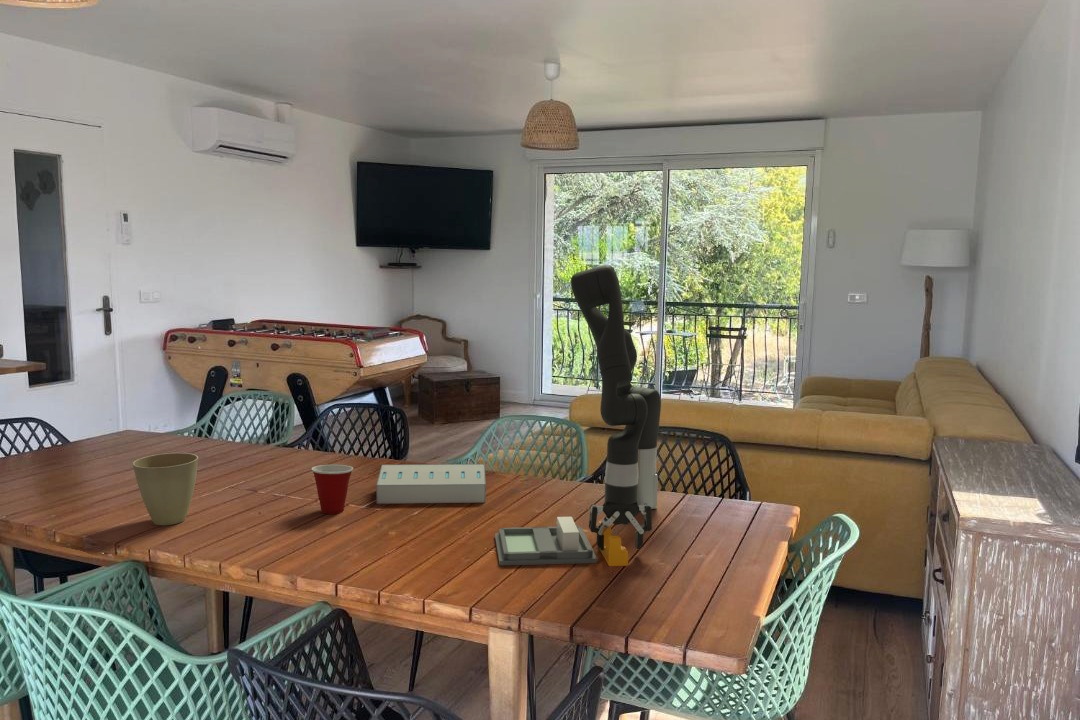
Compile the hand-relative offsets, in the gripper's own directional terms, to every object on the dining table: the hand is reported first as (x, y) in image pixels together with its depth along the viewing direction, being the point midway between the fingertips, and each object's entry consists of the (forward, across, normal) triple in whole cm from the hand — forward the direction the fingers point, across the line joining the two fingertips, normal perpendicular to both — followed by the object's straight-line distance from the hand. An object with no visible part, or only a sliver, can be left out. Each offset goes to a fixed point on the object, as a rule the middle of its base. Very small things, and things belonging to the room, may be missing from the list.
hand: (619, 548), depth 181 cm
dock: (+2, +17, -5) cm, 18 cm away
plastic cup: (+2, +70, -37) cm, 79 cm away
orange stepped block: (+2, +2, 0) cm, 3 cm away
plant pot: (+2, +110, -31) cm, 114 cm away
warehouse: (+2, +44, -49) cm, 66 cm away
